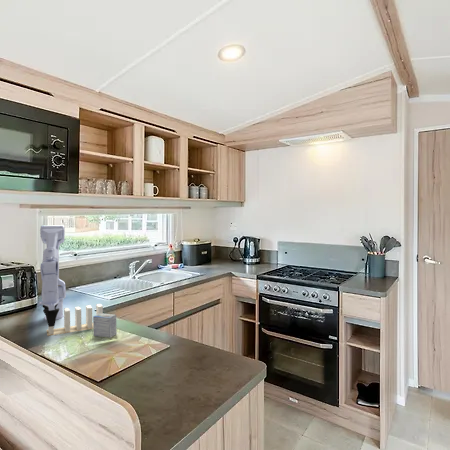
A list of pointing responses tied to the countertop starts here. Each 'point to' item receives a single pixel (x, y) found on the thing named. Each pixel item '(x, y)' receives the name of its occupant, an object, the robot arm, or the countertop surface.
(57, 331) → the oak strip
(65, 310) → the domino
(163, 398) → the countertop surface
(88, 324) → the domino
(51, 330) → the domino
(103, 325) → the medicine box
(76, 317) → the domino
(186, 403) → the countertop surface
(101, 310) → the domino
